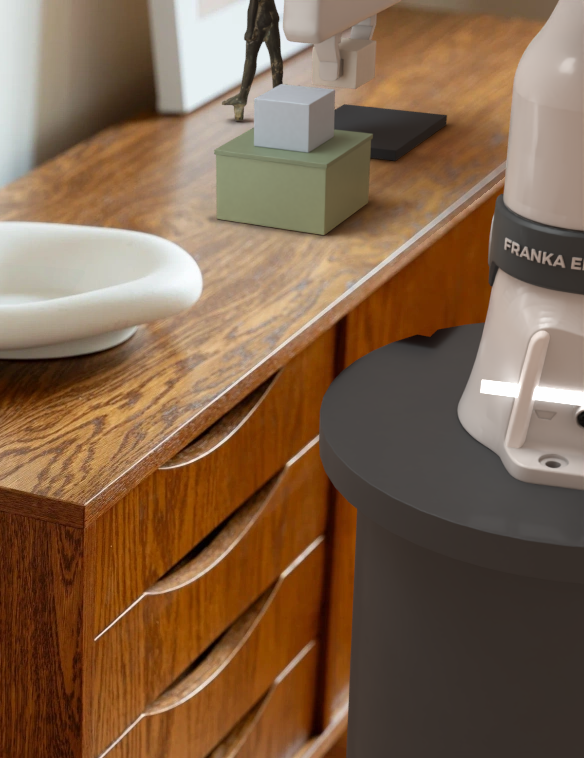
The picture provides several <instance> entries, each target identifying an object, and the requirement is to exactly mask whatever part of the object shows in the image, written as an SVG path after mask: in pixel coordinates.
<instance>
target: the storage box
mask: <svg viewBox="0 0 584 758" xmlns="http://www.w3.org/2000/svg"><path fill="white" fill-rule="evenodd" d="M372 138H373V134H370V133H361V132H352V131H343V130H335V129H334V137H333V138H331V139H329V140H328V141H326V142H325V143H323V144H321V145H320V146H318V147H317V148H315V149H314V150H312V151H310V152H309V153H306V152H297V151H289V150H281V149H273V148H265V147H257V146H254V127H252V128H250V129H249V130H246V131H245V132H243V133H241V134H239V135H238V136H235V138H233V139H231V140H229V141H227V142H225V143H224V144H222V145H220V146H218V147H217V148H215V149H214V150H213V155H215V186H216V187H215V189H216V191H215V193H216V195H215V196H216V220H221V221H228V222H235V223H241V224H242V223H243V224H248V225H249V224H250V225H255V226H262V227H269V228H274V229H275V228H276V229H280V230H286V231H287V230H288V231H294V232H301V233H306V234H307V233H308V234H314V235H321V236H325V235H327V234H328V233H329V232H331V231H332V230H334V229H335V228H336V227H337V226H339V225H340V224H342V223H343V222H344V221H345V220H347V219H348V218H350V217H351V216H353V215H354V214H355V213H356V212H358V211H359V210H361V209H362V208H363V207H365V206H367V204H369V197H370V196H369V195H370V194H369V193H370V176H371V175H370V174H371V173H370V172H371V158H370V152H371V139H372Z"/></svg>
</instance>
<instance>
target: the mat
mask: <svg viewBox="0 0 584 758" xmlns="http://www.w3.org/2000/svg"><path fill="white" fill-rule="evenodd" d="M447 122H448V115H447V114H442V113H441V114H440V113H432V112H421V111H413V110H404V109H396V108H395V109H393V108H384V107H375V106H365V105H357V104H346V103H344V104H342V105H340V106H338V107H336V108H335V113H334V129H335V130H343V131H352V132H361V133H370V134H373V138H372V139H371V152H370V159H378V160H385V161H391V162H392V161H394V162H396V161H398V160H399V159H401V157H403V156H405V155H406V154H407V153H409V152H410V151H412V150H413V149H415V148H416V147H417V146H419V145H421V144H422V143H423V142H424V141H426V140H427V139H429V138H430V137H432V136H433V135H434V134H435V133H437V132H438V131H440V130H441V129H443V128H444V127H446V126H447Z"/></svg>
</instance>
